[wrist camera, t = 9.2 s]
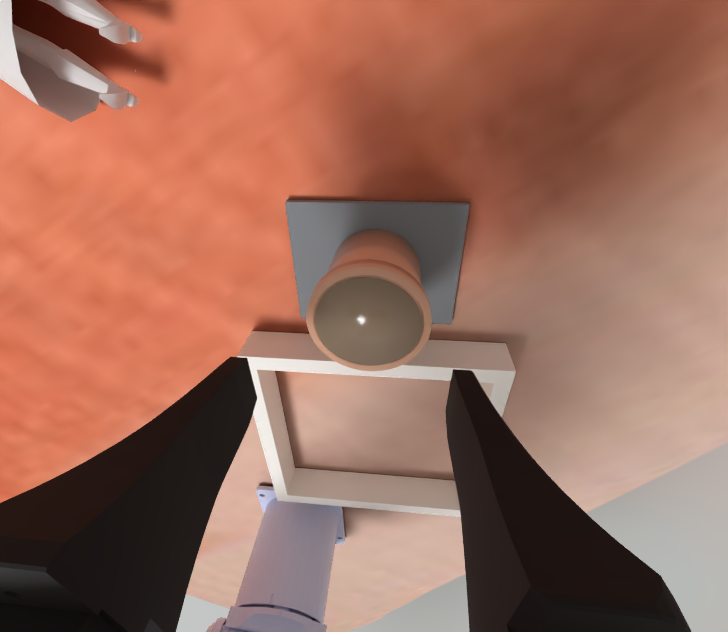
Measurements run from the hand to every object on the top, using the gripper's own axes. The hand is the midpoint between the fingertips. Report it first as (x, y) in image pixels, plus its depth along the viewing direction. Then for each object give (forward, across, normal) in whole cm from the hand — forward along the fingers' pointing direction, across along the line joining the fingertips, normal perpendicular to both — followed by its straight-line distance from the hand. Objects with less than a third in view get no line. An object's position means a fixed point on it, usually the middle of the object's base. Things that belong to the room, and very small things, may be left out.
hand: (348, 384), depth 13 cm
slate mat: (+9, 0, 0) cm, 9 cm away
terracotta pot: (+8, 0, 0) cm, 9 cm away
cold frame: (+9, 0, +13) cm, 16 cm away
